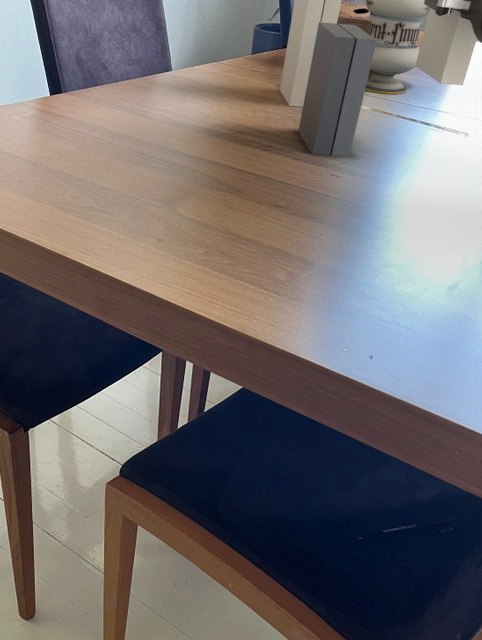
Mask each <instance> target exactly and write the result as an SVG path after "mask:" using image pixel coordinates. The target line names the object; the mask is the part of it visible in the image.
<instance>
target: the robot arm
mask: <svg viewBox="0 0 482 640" xmlns="http://www.w3.org/2000/svg"><path fill="white" fill-rule="evenodd" d="M424 4H425V5H426V6H428V7H430V8H431V9H433V10H435V14H437V15H438V16H442V15H446V14H451V12H452V9H453V10H456V11H459V12H460V14H461V17H462V18H464V19H467V20H470V22H471V24H472V27H473V31H474V34H475V36H476V37H477V40H478V41H479V42H480V43H481V44H482V0H425V1H424Z"/></svg>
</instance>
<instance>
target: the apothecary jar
mask: <svg viewBox="0 0 482 640" xmlns="http://www.w3.org/2000/svg"><path fill="white" fill-rule="evenodd" d="M424 1H425V0H365V4H366V5H367V8H368V9H369V10H370V16H369V21H368V26H367V30H366V33H367V34H369V35H370V36H372V37H373V38H375V39H376V40H377V41H376V45H375V50H374V54H373V58H372V62H371V67H370V71H371V72H372V75H371V76H368V79H367V84H366V88H365V92H371V93H376V94H385V95H398V94H399V95H400V94H404V93H406V92H407V87H406V86H405V85H404V84H402V83H401V82H400V81H399V80H398V79H395V78H394V77H395V76H396V75H401V74H405V73H407V72H409V71H411V70H413V69H414V68H415V67H416V66H415V64H416V61H417V57H418V53H419V49H420V46H419V45H418V43H419V38H420V34H421V29H422V25H423V21H424V18H425V17H426V16H428V15H429V11H430V7H428V6H426V5H425V4H424ZM416 68H417V67H416Z"/></svg>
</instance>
